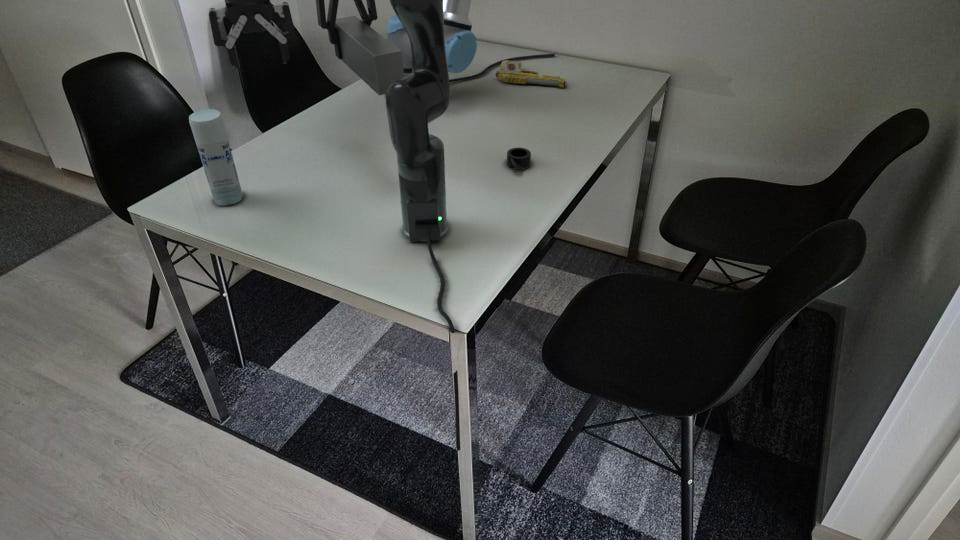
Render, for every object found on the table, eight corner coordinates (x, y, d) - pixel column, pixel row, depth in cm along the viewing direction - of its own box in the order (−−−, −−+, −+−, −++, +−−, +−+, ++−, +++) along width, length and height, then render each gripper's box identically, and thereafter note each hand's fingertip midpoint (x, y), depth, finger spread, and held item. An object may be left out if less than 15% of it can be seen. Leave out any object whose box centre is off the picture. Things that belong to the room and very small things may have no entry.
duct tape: (494, 167, 154) (494, 156, 152) (516, 151, 160) (516, 141, 158) (520, 176, 150) (521, 165, 148) (542, 160, 156) (543, 149, 155)
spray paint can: (212, 194, 144) (187, 111, 131) (242, 188, 145) (220, 107, 133) (214, 208, 139) (188, 124, 127) (244, 202, 141) (222, 119, 128)
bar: (405, 89, 133) (402, 50, 127) (379, 95, 130) (374, 55, 125) (359, 51, 152) (355, 15, 146) (336, 55, 149) (330, 19, 144)
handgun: (569, 72, 204) (565, 89, 193) (500, 66, 208) (492, 82, 196) (570, 65, 203) (566, 81, 191) (501, 58, 206) (492, 74, 195)
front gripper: (282, -37, 112) (298, 54, 122) (198, -31, 109) (221, 62, 119) (285, -27, 106) (301, 67, 116) (195, -21, 103) (221, 76, 113)
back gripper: (373, -62, 139) (384, 43, 154) (289, -53, 132) (308, 56, 147) (386, -56, 134) (396, 52, 149) (299, -46, 127) (318, 67, 142)
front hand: (261, 64), depth 117 cm, fingers open, 8 cm apart
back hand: (352, 54), depth 148 cm, fingers closed on bar, 6 cm apart
